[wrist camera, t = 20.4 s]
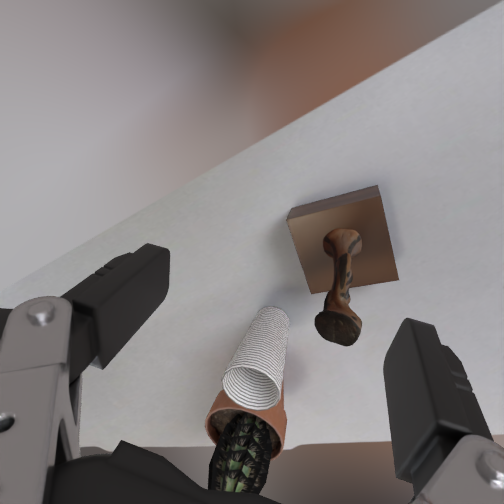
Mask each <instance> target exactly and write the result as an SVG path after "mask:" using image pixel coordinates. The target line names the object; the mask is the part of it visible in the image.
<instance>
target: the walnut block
mask: <svg viewBox="0 0 504 504" xmlns="http://www.w3.org/2000/svg"><path fill="white" fill-rule="evenodd" d="M286 221H287V224H288V227H289V230H290V233H291V236H292V239H293V242H294V245H295V248H296V251H297V254H298V257H299V259H300V262H301V265H302V268H303V271H304V274H305V277H306V280H307V283H308V286H309V289H310V292H311V294H315V293H321V292H327V291H330V290H331V289H332V284H333V280H334V263H333V258H331V257H329V256H328V255H327V254H326V253H325V252H324V248H323V239H324V237H325V236H326V235H327V234H328V233H329V232H331V231H332V230H334V229H352V230H355V231H357V232H358V233H359V235H360V236H361V240H362V247H361V251H360V253H359V254H358V255H357V256H356V257H354V258H352V261H351V271H352V274H353V280H352V283H351V285H350V287H349V288H352V287H359V286H365V285H371V284H378V283H384V282H390V281H397V280H399V278H398V273H397V268H396V264H395V259H394V255H393V250H392V245H391V241H390V236H389V232H388V227H387V223H386V218H385V213H384V209H383V204H382V200H381V195H380V192H379V188H378V185H375V186H372V187H368V188H364V189H361V190H357V191H353V192H349V193H346V194H342V195H338V196H335V197H331V198H327V199H324V200H320V201H316V202H312V203H309V204H305V205H301V206H298V207H294V208H292V209H291V211H290V213H289V215H288V217H287V219H286Z"/></svg>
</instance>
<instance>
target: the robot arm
mask: <svg viewBox="0 0 504 504" xmlns="http://www.w3.org/2000/svg"><path fill="white" fill-rule="evenodd" d="M169 272H170V251H169V250H168V249H167V248H163V247H160V246H156V245H153V244H149V243H147V244H145V245H143V246H142V247H141V248H139V249H138V250H137V251H135V252H134V253H130V252H129V253H127V254H124V255H121V256H118V257H115V258H114V259H112V260H111V261H110V262H108V263H107V264H105V265H104V267H101V268H100V269H98V270H97V271H96V272H95V274H91V275H90V276H89V277H87V278H86V279H84V280H83V281H82V282H80V283H79V284H78V285H76V286H75V287H73V288H72V289H71V290H69V291H68V292H66V293H65V294H64V295H62V296H61V297H55V296H44V297H38V298H34V299H31V300H28V301H26V302H24V303H22V304H20V305H18V306H17V307H16V308H14V309H4V308H0V504H281V503H278V502H276V501H273V500H271V499H268V498H266V497H263V496H261V495H258V494H254V493H242V492H231V491H219V490H207V489H204V488H202V487H200V486H199V485H198V484H196V483H195V482H194V481H192V480H191V479H190V478H189V477H188V476H186V475H185V474H184V473H183V472H181V471H180V470H179V469H178V468H177V467H175V466H174V465H173V464H172V463H170V462H169V461H168V460H167V459H165V458H164V457H163V456H160V455H158V454H155V453H153V452H150V451H148V450H145V449H143V448H140V447H138V446H135V445H133V444H130V443H128V442H125V441H123V440H121V441H120V443H119V444H118V446H117V447H116V449H115V450H114V452H113V453H112V454H95V455H89V456H84V457H80V444H79V432H80V414H81V397H82V379H83V378H82V372H83V371H84V370H85V369H86V368H87V367H88V366H89V365H91V366H94V367H97V368H99V369H102V370H103V369H104V368H105V367H106V366H107V365H108V364H109V362H110V361H111V360H112V359H113V358H114V357H115V356H116V354H117V353H118V352H119V351H120V350H121V349H122V348H123V346H124V345H125V344H126V343H127V342H128V341H129V340H130V339H131V337H132V336H133V335H134V334H135V333H136V332H137V331H138V329H139V328H140V327H141V326H142V325H143V324H144V323H145V321H146V320H147V319H148V318H149V317H150V316H151V315H152V313H153V312H154V311H155V310H156V309H157V308H158V307H159V305H160V304H161V303H162V302H163V301H164V299H165V297H166V295H167V292H168V289H169ZM383 373H384V381H385V390H386V398H387V406H388V415H389V423H390V431H391V440H392V448H393V456H394V465H395V473H396V478H398V479H401V480H404V481H406V482H409V483H412V484H413V488H414V496H413V498H412V499H411V500H410V502H409V503H408V504H504V448H503V447H501V446H500V445H498V444H497V443H495V442H494V440H493V438H492V436H491V433H490V431H489V428H488V426H487V423H486V421H485V419H484V416H483V414H482V411H481V409H480V406H479V404H478V401H477V399H476V397H475V394H474V393H472V390H473V389H472V387H471V384H470V382H469V380H467V375H466V372H465V370H464V367H463V365H462V362H461V361H460V360H459V358H458V357H457V356H456V355H455V354H454V353H453V351H452V350H451V349H450V348H449V347H448V346H445V345H441V343H440V340H439V337H438V334H437V331H436V329H435V327H434V325H431V324H428V323H424V322H421V321H417V320H414V319H410V318H406V319H404V321H403V322H402V324H401V326H400V328H399V330H398V332H397V334H396V336H395V338H394V340H393V342H392V344H391V345H390V347H389V349H388V351H387V354H386V357H385V360H384V367H383Z"/></svg>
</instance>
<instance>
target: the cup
mask: <svg viewBox="0 0 504 504" xmlns="http://www.w3.org/2000/svg"><path fill="white" fill-rule="evenodd" d="M288 332H289V318H288V316H287V314H286V313H285V312H284V311H283V310H282V309H279V308H277V307H272V306H268V307H264V308H262V309H261V310H260V311H259V312H258V314H257V315H256V317H255V319H254V321H253V322H252V324H251V326H250V328H249V330H248V331H247V333H246V335H245V337H244V338H243V340H242V342H241V344H240V345H239V347H238V349H237V351H236V353H235V354H234V356H233V358H232V360H231V361H230V363H229V365H228V367H227V369H226V370H225V372H224V374H223V377H222V379H221V382H222V388H223V390H224V391H225V393H226V395H227V396H228V397H229V398H230V399H231V400H232V401H233V402H235V403H236V404H238V405H240V406H242V407H244V408H246V409H250V410H255V411H262V410H268V409H270V408H272V407H274V406H276V405H277V403H278V402H279V400H280V396H281V388H282V380H283V372H284V364H285V356H286V348H287V340H288Z"/></svg>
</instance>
